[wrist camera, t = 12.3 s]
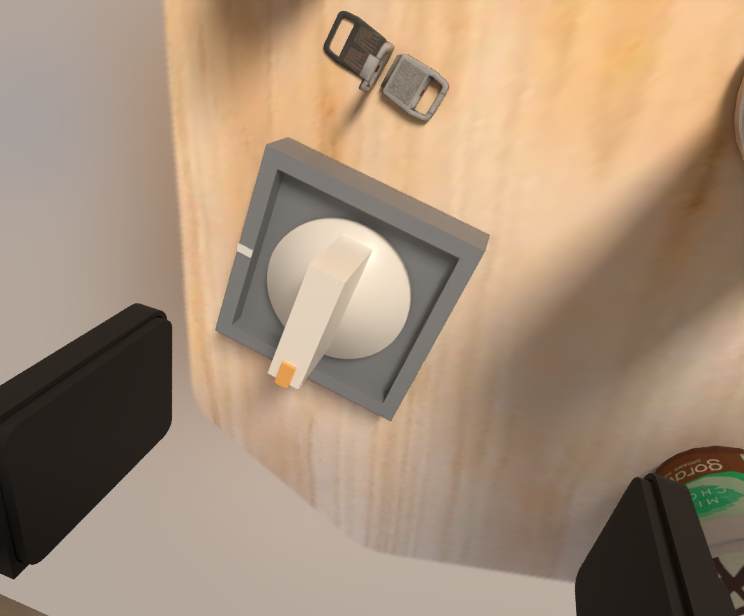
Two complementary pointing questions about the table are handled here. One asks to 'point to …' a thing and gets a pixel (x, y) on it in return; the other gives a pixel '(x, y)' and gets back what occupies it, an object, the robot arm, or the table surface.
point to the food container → (717, 507)
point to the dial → (334, 295)
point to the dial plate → (385, 215)
